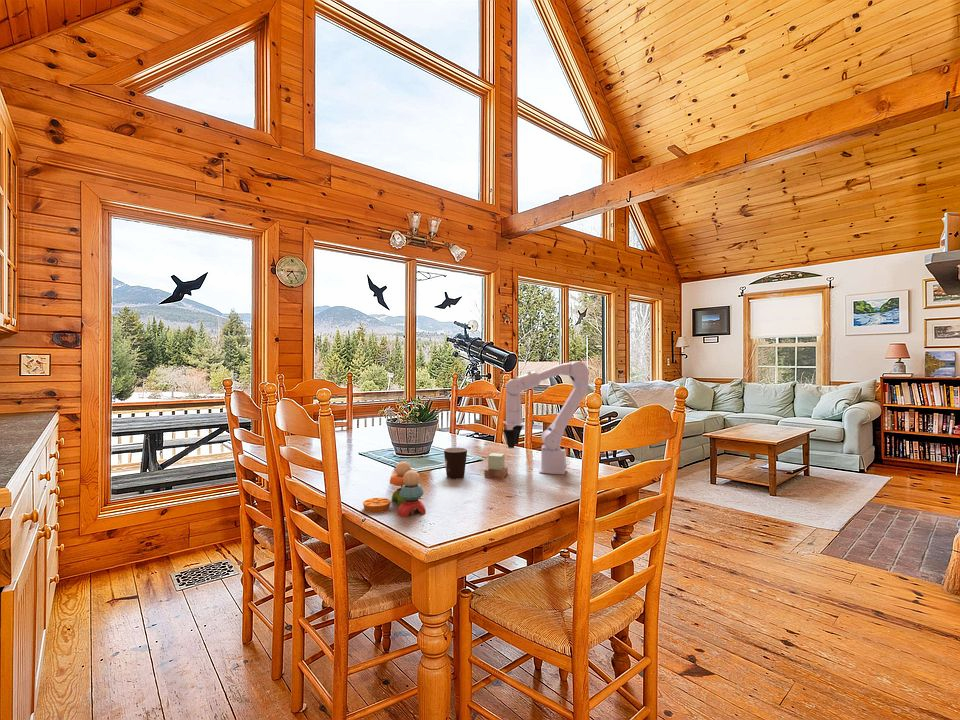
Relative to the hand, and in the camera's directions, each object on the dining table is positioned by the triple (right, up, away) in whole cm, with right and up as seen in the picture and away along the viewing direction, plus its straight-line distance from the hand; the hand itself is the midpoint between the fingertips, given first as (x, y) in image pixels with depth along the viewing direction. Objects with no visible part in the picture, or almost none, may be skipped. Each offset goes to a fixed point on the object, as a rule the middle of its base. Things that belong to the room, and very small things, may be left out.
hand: (513, 445), depth 186 cm
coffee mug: (-21, -10, -7) cm, 25 cm away
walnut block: (-7, -10, -5) cm, 13 cm away
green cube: (-7, -7, -5) cm, 11 cm away
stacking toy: (-37, -11, -44) cm, 59 cm away
